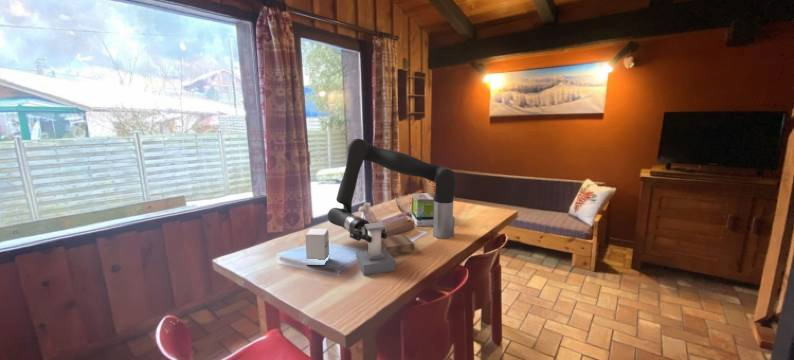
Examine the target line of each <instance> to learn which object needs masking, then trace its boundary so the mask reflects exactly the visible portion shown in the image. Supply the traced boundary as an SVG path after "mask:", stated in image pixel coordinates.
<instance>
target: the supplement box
mask: <svg viewBox="0 0 794 360" xmlns="http://www.w3.org/2000/svg"><path fill="white" fill-rule="evenodd" d="M305 251H306V252H305V254H306V258H307V259H318V260H325V259H326V258H327V257H328V255H329V256H330V239H329V228H310V229H309V230H308V232H306V233H305ZM306 258H305V259H306ZM307 259H306V260H307Z"/></svg>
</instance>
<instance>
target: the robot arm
mask: <svg viewBox="0 0 794 360" xmlns="http://www.w3.org/2000/svg"><path fill="white" fill-rule="evenodd" d="M346 159H347V160H346V165H345V168H344V169H345V170H344V173H343V175H342V178H341V181H340V184H339V187H338V190H337V195H336V198H335V199H336V202H337V203H339V204H342V206H343V207H342V208H340V207H339V208H338V207H333V208H331V209H329V211H328V212H327V219H328V222H329V223H330V224H332V225H335V226H338V227H341V228H343V229H345V230H347V232H348V233H349V238H351V239H353V240H355V241H357V242H360V241H361V240H362V241H365V242H367V243H368V242H369V243H370V242H372V237H371V236H369V235H368V230H367V229H366V228H365V224H370V222H369V221H368V220H367V219H364V218H363V217H360V216H358V215H355V214H353V213H352V209H353V208H352V207H353V206H352V205H353V198H354V194H355V191H356V187H357V183H358V177H359V174H360V170H361V167H362V165H363V163H364V161H367V162H370V163H374V164H377V165H379V166H381V167H383V168H385V169H387V170H389V171H392V172H396V173H397V174H398V173H399V174H401V175H405V176H411V177H419V178H423V179H425V180H428V181H431V182H433V183H435V193H434V195H433V198H434V215H433V226H432V236H433V237H435V238H437V239H442V240H443V239H444V240H446V239H450V238H452V237H455V219H456V218H455V217H454V200H455V199H454V198H455V196H456V183H457V180H456V179H457V177H456V174H455V172H454V170H452V169H450V168H449V167H447V166H442V165H436V164H432V163H428V162H426V161H424V160H422V159H419V158H417V157H415V156H412V155H410V154H406V153H404V152H400V151H396V150H392V149H386V148H381V147H378V146H375V145H373V144H371V143H368V142H367V141H366V140H364V139H362V138H354V139H352V140H350V142H349V143H348V145H347V158H346ZM387 235H388V234H387V232H386V228H385V227H384V230H381V237H382V238H383V239H386V238H387Z"/></svg>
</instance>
